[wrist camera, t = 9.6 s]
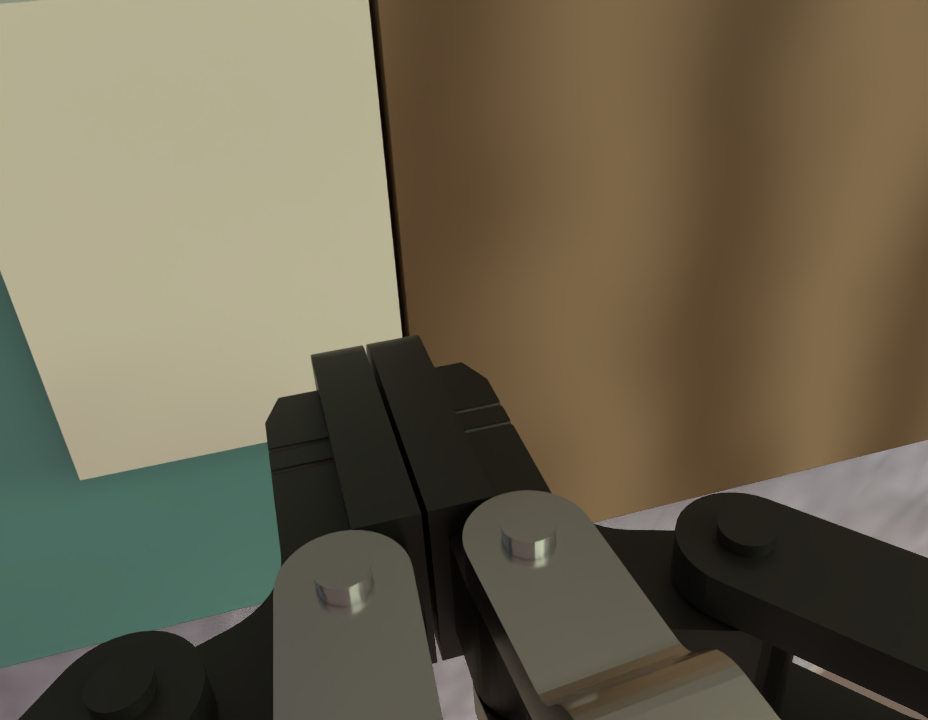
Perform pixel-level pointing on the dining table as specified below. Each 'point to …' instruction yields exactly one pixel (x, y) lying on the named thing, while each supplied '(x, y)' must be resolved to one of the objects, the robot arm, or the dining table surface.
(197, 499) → the mat
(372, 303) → the tile
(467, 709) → the dining table surface
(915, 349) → the brown wooden board
